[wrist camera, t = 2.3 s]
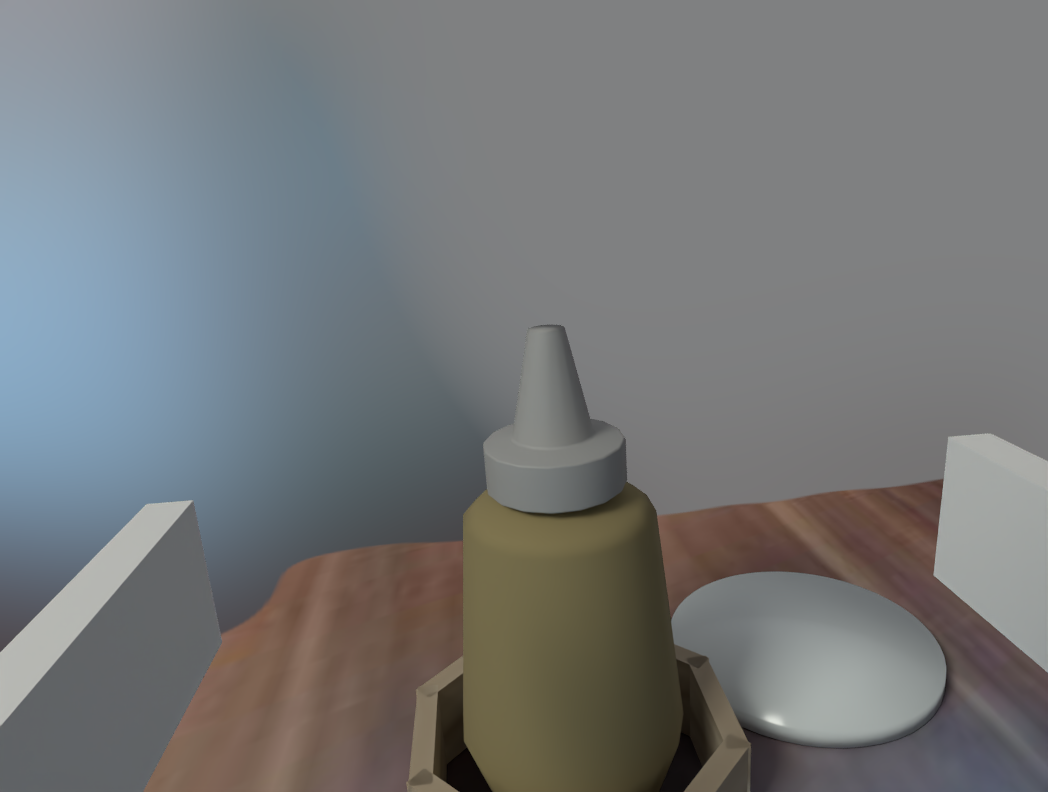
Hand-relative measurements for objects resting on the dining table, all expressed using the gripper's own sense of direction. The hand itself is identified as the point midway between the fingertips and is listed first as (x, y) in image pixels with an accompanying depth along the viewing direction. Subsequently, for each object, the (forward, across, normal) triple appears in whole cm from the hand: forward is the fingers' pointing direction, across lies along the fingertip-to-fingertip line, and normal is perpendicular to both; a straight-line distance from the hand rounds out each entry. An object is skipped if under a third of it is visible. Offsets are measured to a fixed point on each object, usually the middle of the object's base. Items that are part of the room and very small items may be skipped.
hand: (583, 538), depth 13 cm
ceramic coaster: (+18, +12, -16) cm, 27 cm away
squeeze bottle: (+11, +1, -17) cm, 20 cm away
